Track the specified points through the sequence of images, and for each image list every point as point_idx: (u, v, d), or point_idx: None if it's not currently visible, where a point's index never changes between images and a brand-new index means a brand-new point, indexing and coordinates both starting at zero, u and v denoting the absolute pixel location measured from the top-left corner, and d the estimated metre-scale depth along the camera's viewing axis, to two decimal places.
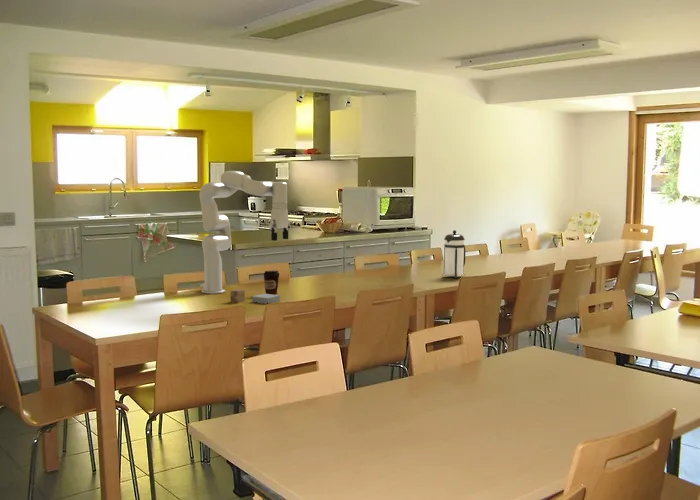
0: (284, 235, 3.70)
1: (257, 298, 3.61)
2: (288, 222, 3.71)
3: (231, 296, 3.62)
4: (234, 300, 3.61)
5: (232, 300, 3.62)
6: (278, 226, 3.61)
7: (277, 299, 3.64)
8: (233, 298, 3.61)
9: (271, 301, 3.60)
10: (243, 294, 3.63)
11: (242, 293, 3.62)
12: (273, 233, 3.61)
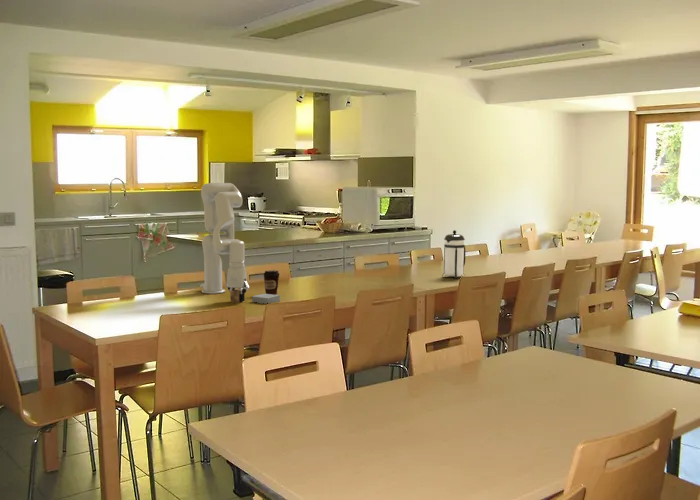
0: None
1: (257, 298, 3.61)
2: None
3: (231, 296, 3.62)
4: (234, 300, 3.61)
5: (232, 300, 3.62)
6: None
7: (277, 299, 3.64)
8: (233, 298, 3.61)
9: (271, 301, 3.60)
10: None
11: None
12: (243, 294, 3.61)
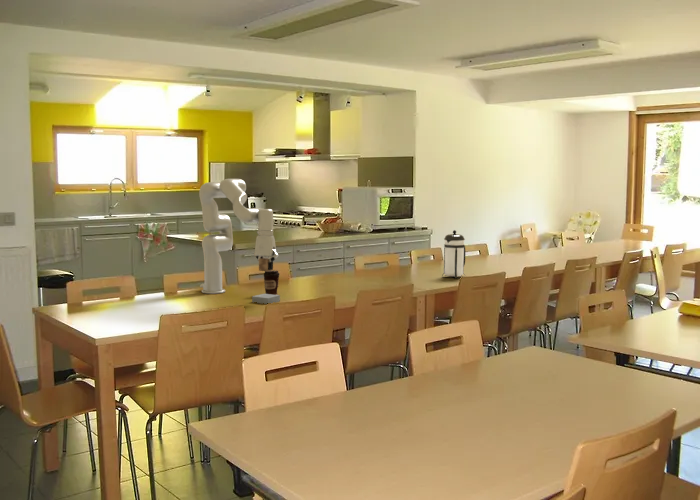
0: None
1: (257, 298, 3.61)
2: None
3: (259, 264, 3.61)
4: (263, 268, 3.60)
5: (260, 268, 3.61)
6: None
7: (277, 299, 3.64)
8: (262, 267, 3.60)
9: (271, 301, 3.60)
10: None
11: None
12: (272, 262, 3.60)
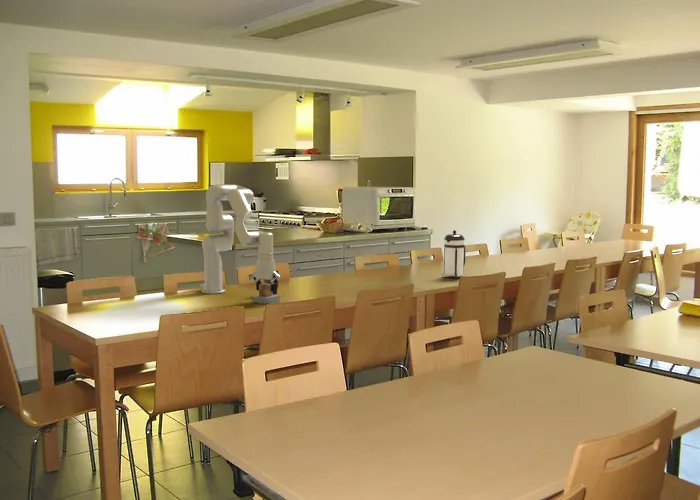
0: None
1: (257, 298, 3.61)
2: None
3: (259, 290, 3.62)
4: (263, 294, 3.62)
5: (260, 294, 3.62)
6: None
7: (277, 299, 3.64)
8: (262, 292, 3.62)
9: (271, 301, 3.60)
10: None
11: (270, 287, 3.63)
12: (275, 284, 3.61)
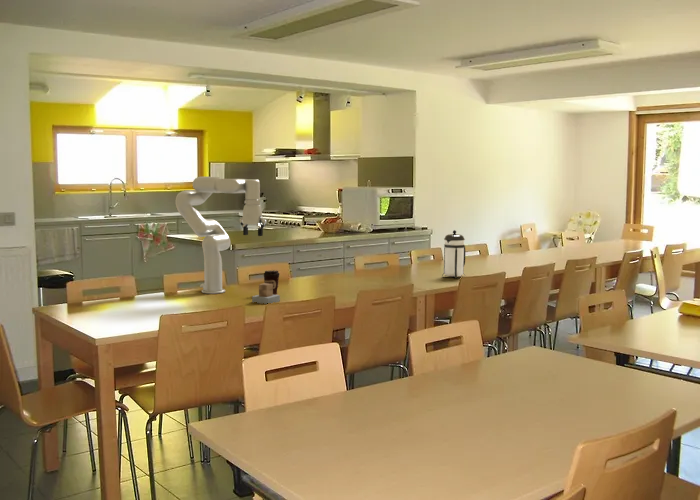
0: (245, 231, 3.79)
1: (257, 298, 3.61)
2: (243, 218, 3.80)
3: (259, 290, 3.62)
4: (263, 294, 3.62)
5: (260, 294, 3.62)
6: None
7: (277, 299, 3.64)
8: (262, 292, 3.62)
9: (271, 301, 3.60)
10: (271, 288, 3.64)
11: (270, 287, 3.63)
12: (262, 229, 3.74)
